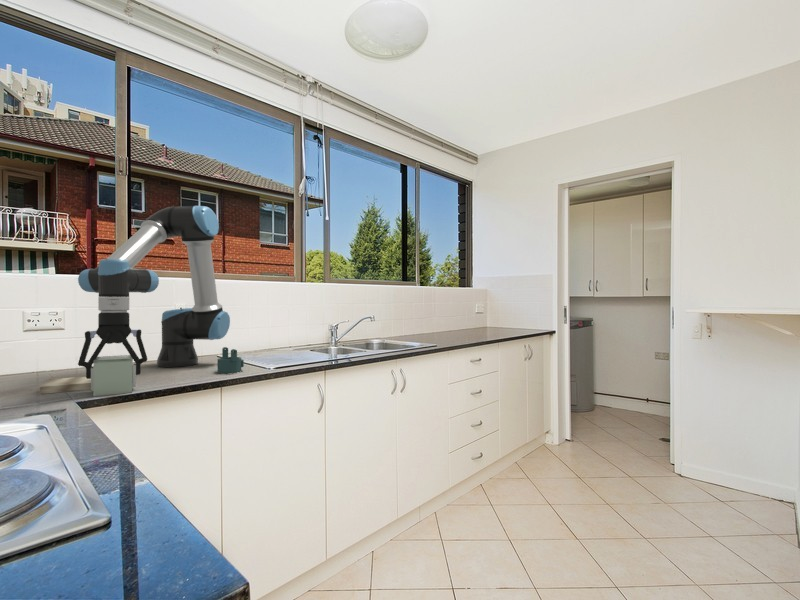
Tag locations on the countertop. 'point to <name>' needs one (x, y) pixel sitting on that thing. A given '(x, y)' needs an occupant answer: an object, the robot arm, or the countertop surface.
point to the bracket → (229, 362)
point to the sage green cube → (113, 375)
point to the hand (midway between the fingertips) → (114, 387)
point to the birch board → (65, 385)
